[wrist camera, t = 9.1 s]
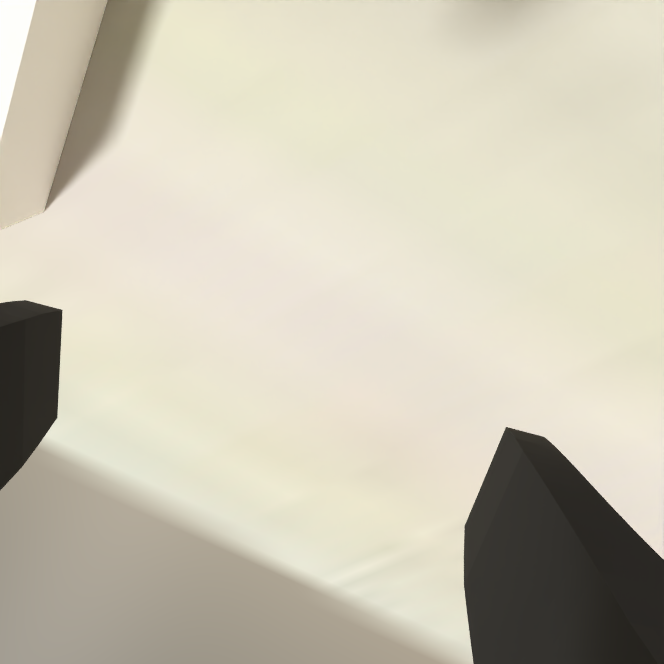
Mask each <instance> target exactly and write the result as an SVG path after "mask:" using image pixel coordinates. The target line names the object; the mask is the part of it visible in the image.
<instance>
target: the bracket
mask: <svg viewBox="0 0 664 664" xmlns="http://www.w3.org/2000/svg"><path fill="white" fill-rule="evenodd" d="M107 1H108V0H0V230H1V229H4V228H6V227H9V226H11V225H14V224H16V223H18V222H21V221H23V220H26V219H28V218H31V217H33V216H35V215H38V214H40V213H43V212H44V210H45V207H46V204H47V200H48V197H49V194H50V190H51V187H52V184H53V180H54V177H55V174H56V170H57V167H58V164H59V161H60V157H61V154H62V151H63V147H64V144H65V141H66V137H67V134H68V131H69V127H70V124H71V121H72V117H73V114H74V111H75V107H76V104H77V101H78V98H79V94H80V91H81V88H82V84H83V81H84V78H85V74H86V71H87V68H88V64H89V61H90V58H91V54H92V51H93V48H94V44H95V41H96V38H97V34H98V31H99V28H100V25H101V21H102V18H103V15H104V11H105V8H106V5H107Z"/></svg>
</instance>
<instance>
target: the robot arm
mask: <svg viewBox="0 0 664 664" xmlns="http://www.w3.org/2000/svg"><path fill="white" fill-rule="evenodd" d="M61 328H62V310H60V309H56V308H53V307H49V306H45V305H41V304H37V303H34V302H30V301H26V300H24V301H12V302H5V303H0V490H1V489H2V488H3V487H4V486H5V485H6V483H7V482H8V481H9V480H10V479H11V478H12V477H13V476H14V475H15V474H16V473H17V472H18V471H19V469H20V468H21V467H22V466H23V465H24V463H25V462H26V461H27V459H28V458H29V457H30V455H31V454H32V453H33V451H34V450H35V449H36V447H37V446H38V445H39V443H40V442H41V440H42V439H43V437H44V436H45V435H46V433H47V432H48V430H49V429H50V427H51V426H52V424H53V423H54V421H55V420H56V419H57V411H58V390H59V370H60V349H61ZM464 588H465V597H466V606H467V614H468V623H469V631H470V639H471V647H472V654H473V662H474V664H664V560H663V559H662V558H661V557H660V556H659V555H658V554H657V553H656V552H655V551H654V550H653V549H652V548H651V547H650V546H649V545H648V544H647V543H646V542H645V541H644V540H643V539H642V538H641V537H640V536H639V535H638V534H637V533H636V532H635V531H634V530H633V529H632V528H631V527H630V526H629V524H628V523H627V522H626V521H625V520H624V519H623V518H622V517H621V516H620V515H619V514H618V513H617V512H616V511H615V510H614V509H613V508H612V507H611V505H610V504H609V503H608V502H607V501H606V500H605V499H604V498H603V497H602V496H601V495H600V494H599V493H598V492H597V490H596V489H595V488H594V487H593V486H592V485H591V484H590V483H589V482H588V481H587V480H586V479H585V477H584V476H583V475H582V474H581V473H580V472H579V471H578V470H577V469H576V468H575V467H574V466H573V465H572V464H571V462H570V461H569V460H568V459H567V458H566V457H565V456H564V455H563V454H562V453H561V452H560V451H559V450H558V449H557V448H556V447H555V446H554V445H553V444H552V443H551V442H549V441H548V440H547V439H546V438H545V437H542V436H538V435H534V434H530V433H527V432H523V431H519V430H515V429H512V428H508V427H506V429H505V431H504V433H503V436H502V438H501V441H500V443H499V445H498V448H497V450H496V453H495V455H494V457H493V460H492V462H491V465H490V467H489V469H488V472H487V474H486V477H485V479H484V481H483V484H482V486H481V489H480V491H479V493H478V496H477V498H476V500H475V503H474V505H473V508H472V510H471V512H470V515H469V517H468V520H467V522H466V524H465V538H464Z"/></svg>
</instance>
